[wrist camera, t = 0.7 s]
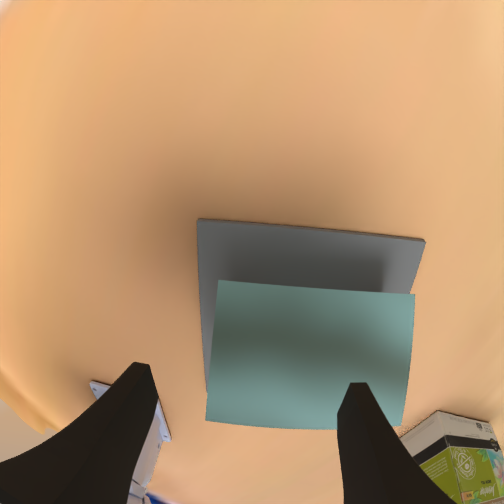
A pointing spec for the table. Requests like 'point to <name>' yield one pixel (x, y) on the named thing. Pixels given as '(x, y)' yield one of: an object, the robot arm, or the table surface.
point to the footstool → (305, 353)
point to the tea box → (459, 457)
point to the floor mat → (298, 262)
